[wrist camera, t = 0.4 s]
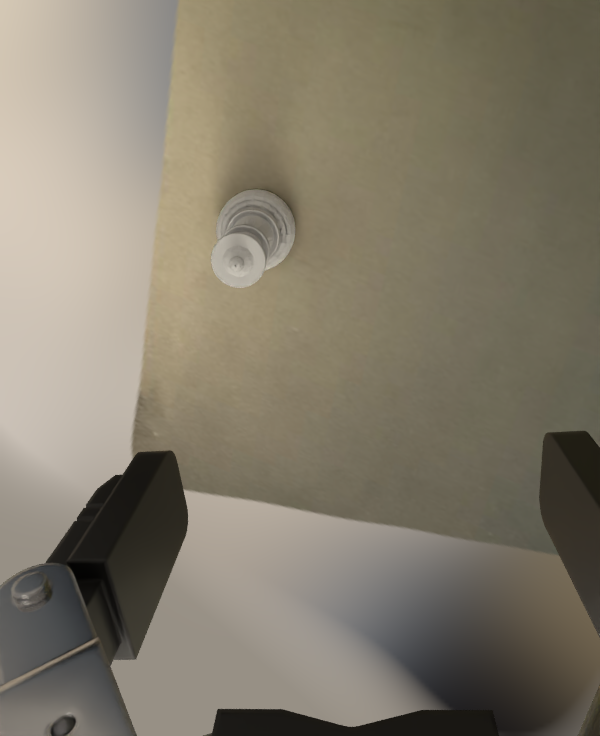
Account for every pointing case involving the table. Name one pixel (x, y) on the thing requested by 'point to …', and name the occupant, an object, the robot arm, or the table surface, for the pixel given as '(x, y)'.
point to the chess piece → (251, 237)
